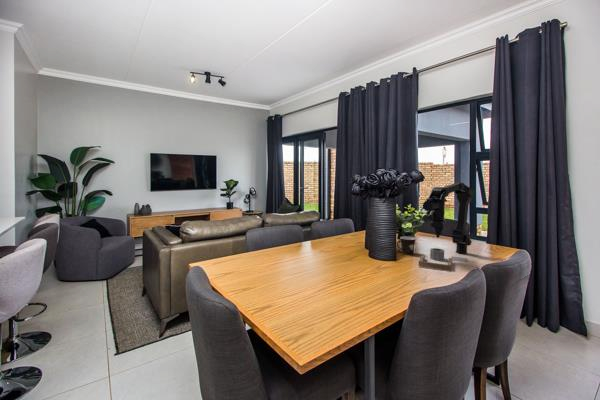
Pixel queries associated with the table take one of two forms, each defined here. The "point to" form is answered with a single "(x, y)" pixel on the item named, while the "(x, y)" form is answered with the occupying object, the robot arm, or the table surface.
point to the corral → (435, 264)
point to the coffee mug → (407, 245)
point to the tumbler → (437, 254)
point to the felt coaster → (459, 259)
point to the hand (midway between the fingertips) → (437, 237)
